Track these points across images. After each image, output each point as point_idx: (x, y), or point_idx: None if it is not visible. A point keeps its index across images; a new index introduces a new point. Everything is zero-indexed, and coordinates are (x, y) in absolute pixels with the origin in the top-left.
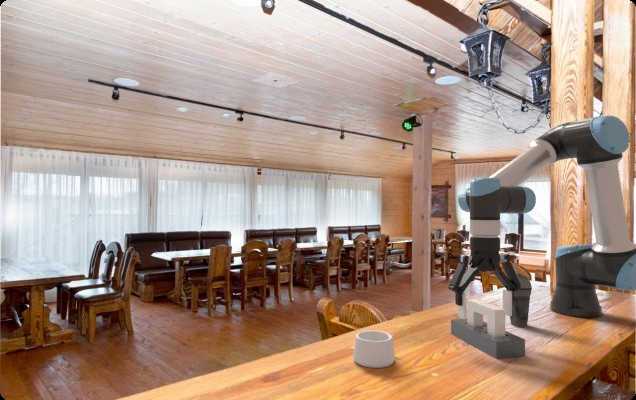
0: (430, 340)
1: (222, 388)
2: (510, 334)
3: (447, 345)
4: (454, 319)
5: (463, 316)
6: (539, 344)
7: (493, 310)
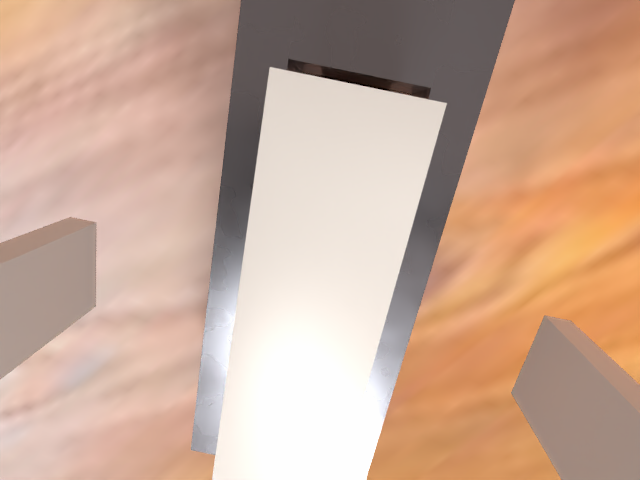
0: None
1: None
2: (256, 86)
3: (532, 302)
4: (345, 476)
5: (583, 338)
6: (36, 96)
7: (435, 135)
